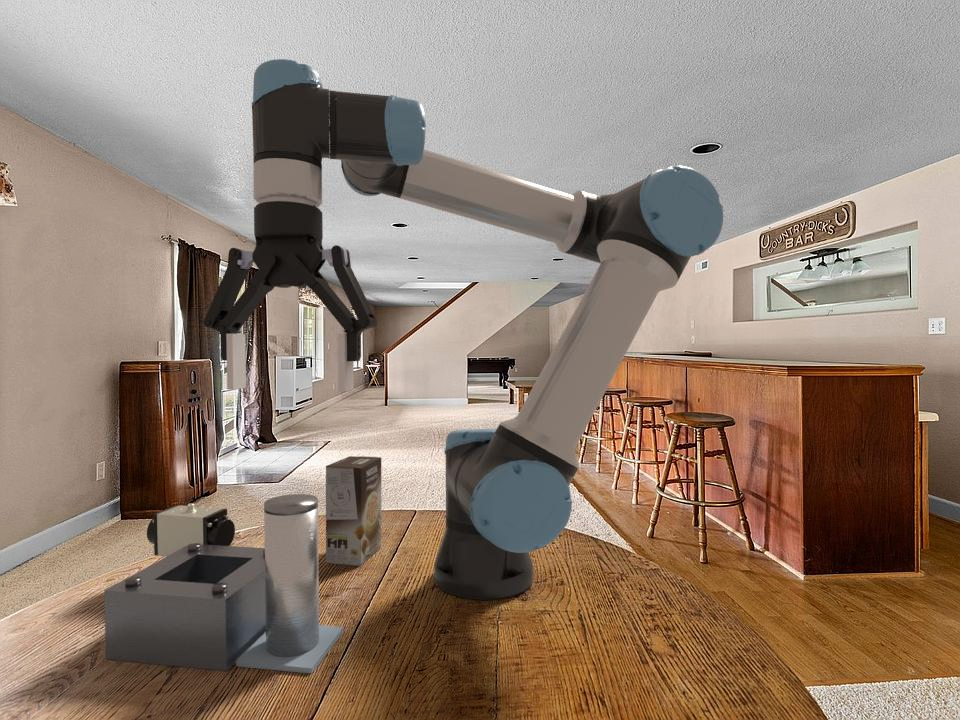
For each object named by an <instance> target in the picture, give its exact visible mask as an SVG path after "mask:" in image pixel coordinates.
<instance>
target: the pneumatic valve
mask: <svg viewBox="0 0 960 720" xmlns="http://www.w3.org/2000/svg"><path fill="white" fill-rule="evenodd" d="M229 516H230V515H228V508H224V507H223V508H222V507H221V508H219V507H211V506H207V507H206V506H202V505H200V506H195V503H191V502H190V503H187V505H176V504H175V505H173V506H171V507H169V508H166V509H163V510H160V511H159V512H156V513H154V514H153V517H152V519H151V520H150V521H149V524H148V525H147V529H146V538H147V540H148V542H149V543H150V544H152V545H153V546H152V549H154V550H153V551H154V552H153V553H154V556H157V557H167V556H169V555H170V554H172V553H174V552H176V551H178V550H180V549H182V548H183V547H185V546H187V545H189V544H194V543H200V544H205V545H221V546H232V544H233V541H234V538H235V534H236V525H235V523H234V521H233V520H232V519H229Z"/></svg>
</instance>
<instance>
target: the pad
mask: <svg viewBox="0 0 960 720" xmlns="http://www.w3.org/2000/svg"><path fill="white" fill-rule="evenodd" d="M344 628H345V626H337V625H335V626H334V625H333V626H332V625H322V624H319V643H318V644H317V646H316V647H315V648H313V649H312V650H310V651H309V652H306V653H304V654H301V655H298V656H293V657H277V656H273V655H271V654H269V653H268V652H267V650H266V632H265V633H264V634H263V635H262V636H261V637H260V638H259V639H258V640H257V641H256V642H255V643H254V644H253V645H252V646H251V647H250V648H249V649H248V650H247V651H246V652H245V653H244V654H243V655H242V656H241V657H240V658H239V659H238V660H237V661H236V662H235V667H238V668H250V669H259V670H271V671H278V672H279V671H281V672H291V673H302V674H311V675H312V674H313V673H314V671H315V670H316V669H318V666H319V665H320V663H321V662H322V661H323V660H324V658H325V657H326V656H327V655H328V653H329V652H330V650H331V649H332V648H333V647H334V646H335V644H336V642H338V640H339V639H340V637H341V636H342V635H343V634H344V633H345V632H344V631H345V629H344Z"/></svg>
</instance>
